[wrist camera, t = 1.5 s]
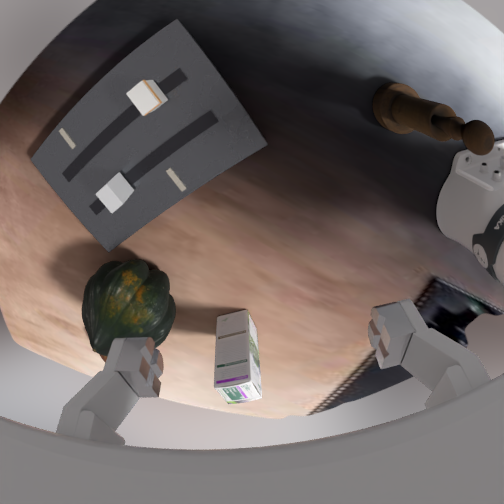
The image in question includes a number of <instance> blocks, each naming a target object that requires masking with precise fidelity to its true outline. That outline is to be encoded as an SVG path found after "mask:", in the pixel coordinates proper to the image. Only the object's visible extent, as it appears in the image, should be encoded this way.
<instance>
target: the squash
mask: <svg viewBox="0 0 504 504" xmlns="http://www.w3.org/2000/svg"><path fill="white" fill-rule="evenodd" d="M169 291H170V283H169V278H168V276H167V274H166V273H165V272H163V271H160V270H150V271H149V268H148V266H147V264H146V263H145V262H144V261H143V260H137V259H135V260H130V261H127V262H124V263H122V262H119V261H112V262H109V263H106V264H104V265H103V266H101V267H100V269H99V270H98V271H97V272H96V274H94V275H93V276H92V277H91V278H90V279H89V281H88V282H87V285H86V287H85V291H84V299H83V304H82V319H83V322H84V325H85V328H86V331H87V333H88V336H89V340H90V344H91V347H92V348H93V351H94V352H97V353H99V354H100V355H103V356H107V357H108V354H109V351H110V348H111V345H112V342H113V340H114V339H115V338H139V337H151V338H152V339H153V341H154V342H155V345H154V348H156V347H158V346H159V345H160V344H161V343H162V342H163V341H164V340H165V339H166V337H167V336H168V334H169V332H170V329H171V327H172V324H173V321H174V318H175V313H176V307H175V302H174V299H173V297H172V296H171V295H170V294H169Z"/></svg>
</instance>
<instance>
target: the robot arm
mask: <svg viewBox="0 0 504 504" xmlns="http://www.w3.org/2000/svg"><path fill="white" fill-rule="evenodd" d="M466 157H467V159H466ZM436 216H437V222H438V226H439V228H440V230H441V232H442V233H443V234H444V235H445V236H446V237H448V238H450V239H453V240H455V241H457V242H458V243H460V244H462V245H463V246H465V247H466V248H467V249H468V250H470V251H471V252H472V253H473V254H474V255H475V257H476V258H477V260H478V261H479V262H480V263H481V265H482V266H483V267H484V268H485V269H486V270H487V271H488V272H489V274H490V275H491V276H492V277H493V278H494V279H495V280H496V281H497V282H501V283H502V284H503V286H504V140H500V141H496V142H494V147H493V149H492V150H491V152H490V153H488V154H486V155H483V156H480V155H476V154H473V153H472V152H471V151H469V150H468V149H467V150H464V151H460V152H458V153H457V154H456V155H455V157H454V160H453V164H452V169H451V172H450V174H449V176H448V178H447V180H446V181H445V183H444V185H443V187H442V189H441V192H440V195H439V198H438V202H437V210H436ZM371 317H372V320H371V321H370V322H369V326H368V336H369V340H370V343H371V346H372V347H374V348H375V349H377V351H376V355H375V356H376V358H377V361H378V363H379V366H380V368H381V369H384V368H388V367H392V366H396V365H400V364H401V366H402V367H404V368H405V369H406V370H407V371H408V372H410V373H411V374H412V375H413V376H414V377H416V378H417V379H418V380H419V381H420V382H422V383H423V384H424V385H425V386H426V387H428V388H429V389H430V390H431V391H432V394H431V395H430V396H429V398H428V400H427V401H426V403H425V406H426V409H425V410H423V411H420V412H417V413H415V414H411V415H409V416H405V417H402V418H400V419H396V420H393V421H390V422H386V423H383V424H380V425H376V426H372V427H369V428H365V429H361V430H357V431H353V432H349V433H344V434H340V435H335V436H330V437H325V438H320V439H314V440H309V441H303V442H297V443H289V444H281V445H273V446H264V447H252V448H239V449H214V450H213V449H212V450H186V449H160V448H146V447H136V446H127V445H125V440H124V438H123V437H122V436H120V435H119V434H118V433H117V432H115V431H116V429H117V428H118V426H119V425H120V424H121V423H122V421H123V420H124V419H125V417H126V416H127V415H128V413H129V412H130V411H131V409H132V408H133V406H134V405H135V404H136V402H137V401H138V400H139V397H159V392H160V386H161V382H160V381H159V379H158V378H159V377H160V376H161V375H162V374H163V367H164V366H163V358H162V355H161V353H160V351H159V350H157V349H156V348H154V345H155V342H154V341H153V339H152V338H151V337H139V338H115V339H114V340H113V342H112V345H111V348H110V351H109V354H108V357H107V360H106V363H105V366H104V369H103V371H100V372H99V373H97V374H96V375H95V376H94V377H93V378H92V379H91V380H90V381H89V382H88V383H87V384H86V385H85V386H84V387H83V388H82V389H81V390H80V391H79V392H78V393H77V394H76V395H75V396H74V397H73V398H72V399H71V400H70V401H69V402H68V403H67V404H66V405H65V406H64V407H63V410H62V414H61V417H60V420H59V424H58V427H57V431H56V433H54V432H50V431H46V430H43V429H39V428H36V427H32V426H29V425H26V424H22V423H19V422H16V421H13V420H10V419H7V418H5V417H1V416H0V504H504V374H502V375H500V376H498V377H496V378H495V379H492V380H491V379H490V377H489V375H488V373H487V371H486V369H485V368H484V366H483V364H482V362H481V361H480V359H479V357H478V355H477V354H475V353H473V352H471V351H470V350H468V349H467V348H465V347H463V346H462V345H460V344H458V343H456V342H455V341H453V340H451V339H450V338H448V337H446V336H444V335H443V334H441V333H439V332H438V331H436V330H434V329H432V328H430V329H428V327H427V325H426V324H425V322H424V320H423V319H422V317H421V315H420V314H419V312H418V310H417V309H416V307H415V305H414V304H413V302H412V301H411V300H410V299H406V300H401V301H397V302H392V303H388V304H384V305H379V306H375V307H373V308H372V309H371Z"/></svg>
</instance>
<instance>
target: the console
mask: <svg viewBox="0 0 504 504" xmlns="http://www.w3.org/2000/svg"><path fill="white" fill-rule="evenodd" d="M143 80H154V82H155V83H156V84H157V86H158V87H159V88H160V90H161V91H162V92H163V93H164V95H165V96H166V97H167V99H168V101H166V102H165V103H164V104H162V105H161V106H160V107H159V108H157V109H156V110H155V111H153V112H151V113H148V114H147V115H145V116H143V115H142V114H141V113H140V111H139V110H138V109H137V107H136V106H135V105H134V104H133V102H132V101H131V100H130V98H129V97H128V96H127V94H126V93H127V92H129V91H130V90H131V89H132V88H133V87H134V86H136V85H137V84H138V83H139V82H141V81H143ZM267 145H268V144H267V141H266V139H265V137H264V136H263V134H262V133H261V131H260V130H259V128H258V127H257V125H256V124H255V122H254V121H253V119H252V118H251V116H250V115H249V113H248V112H247V110H246V109H245V107H244V106H243V104H242V103H241V102H240V100H239V99H238V97H237V96H236V94H235V93H234V92H233V90H232V89H231V87H230V86H229V84H228V83H227V82H226V80H225V79H224V77H223V76H222V75H221V73H220V72H219V71H218V69H217V68H216V66H215V65H214V64H213V62H212V61H211V60H210V58H209V57H208V56H207V54H206V53H205V52H204V50H203V49H202V48H201V46H200V45H199V44H198V43H197V41H196V40H195V39H194V37H193V36H192V35H191V34H190V32H189V31H188V30H187V28H186V27H185V26H184V25H183V23H181V22H180V21H179V20H178V19H176V20H174V21H173V22H171V23H170V24H169V25H167V26H166V27H164V28H163V29H161V30H160V31H159V32H157V33H156V34H155V35H153V36H152V37H150V38H149V39H148V40H147V41H145V42H144V43H143V44H141V45H140V46H139V47H138V48H136V49H135V50H134V51H133V52H131V53H130V54H129V55H128V56H127V57H125V58H124V59H123V60H122V61H121V62H120V63H118V64H117V65H116V66H115V67H114V68H113V69H112V70H111V71H109V72H108V73H107V74H106V75H105V76H104V77H103V78H102V79H101V80H100V81H99V82H98V83H97V84H96V85H95V86H94V87H93V88H92V89H91V90H90V91H89V92H88V93H87V94H86V95H85V96H84V97H83V98H82V99H81V100H80V101H79V102H78V103H77V104H76V105H75V106H74V107H73V108H72V109H71V110H70V112H69V113H68V114H67V115H66V116H65V117H64V118H63V119H62V121H61V122H60V123H59V124H58V125H57V126H56V128H55V129H54V130H53V131H52V132H51V134H50V135H49V136H48V137H47V139H46V140H45V141H44V142H43V144H42V145H41V146H40V148H39V149H38V150H37V151H36V153H35V154H34V155H33V157H32V158H31V161H32V162H33V164H34V165H35V166H36V168H37V169H38V170H39V171H40V173H41V174H42V175H43V177H44V178H45V179H46V180H47V182H48V183H49V184H50V186H51V187H52V188H53V189H54V191H55V192H56V193H57V194H58V195H59V197H60V198H61V199H62V200H63V202H64V203H65V204H66V205H67V206H68V208H69V209H70V210H71V211H72V212H73V213H74V215H75V216H76V217H77V218H78V219H79V220H80V221H81V223H82V224H83V225H84V226H85V227H86V228H87V229H88V231H89V232H90V233H91V234H92V235H93V236H94V237H95V238H96V239H97V240H98V242H99V243H100V244H101V245H102V246H103V247H104V248H105V249H106V250H107V251H108V252H110V251H111V250H113V249H114V248H115V247H116V246H118V245H119V244H120V243H122V242H123V241H124V240H126V239H127V238H128V237H130V236H131V235H132V234H134V233H135V232H136V231H138V230H139V229H140V228H142V227H143V226H144V225H146V224H147V223H149V222H150V221H151V220H153V219H154V218H156V217H157V216H158V215H160V214H161V213H163V212H164V211H165V210H167V209H168V208H170V207H171V206H173V205H174V204H176V203H177V202H178V201H180V200H181V199H183V198H184V197H186V196H187V195H189V194H190V193H192V192H193V191H195V190H196V189H198V188H199V187H201V186H202V185H204V184H205V183H207V182H208V181H210V180H211V179H213V178H215V177H216V176H218V175H219V174H221V173H222V172H224V171H226V170H227V169H229V168H230V167H232V166H233V165H235V164H237V163H238V162H240V161H242V160H243V159H245V158H247V157H248V156H250V155H251V154H253V153H255V152H256V151H258V150H260V149H262V148H263V147H265V146H267ZM119 172H120V173H121V175H122V176H123V177H124V178H125V179H126V181H127V182H128V183H129V184H130V186H131V187H132V188H133V189H134V191H133V193H132V194H131V195H130V196H129V198H128V199H127V200H126V201H125V203H124V204H123V205H122V206H120V207H119V208H118V209H117V210H116V211H114V212H113V213H111V212H110V211H109V210H108V209H107V207H106V206H105V205H104V204H103V203H102V202H101V200H100V199H99V198H98V197H97V196H96V193H97V192H98V191H99V190H100V189H101V188H102V187H103V186H104V185H105V184H106V183H107V182H109V181H110V180H111V179H112V178H113V177H114V176H115V175H116V174H118V173H119Z"/></svg>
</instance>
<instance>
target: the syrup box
mask: <svg viewBox="0 0 504 504" xmlns="http://www.w3.org/2000/svg"><path fill="white" fill-rule="evenodd" d="M214 388H215V389H216V390H217V391H218V393H219V394H220V395H221V396H222V397H223V398H224V399H225V401H226V402H227V403H228V404H235V403H244V402H249V401H253V400H257V399H262V390H261V375H260V363H259V349H258V336H257V328H256V326H255V324H254V322H253V320H252V318H251V316H250V314H249V312H248V310H243V311H238V312H234V313H230V314H226V315H222V316H218V317H217V328H216V347H215V372H214Z"/></svg>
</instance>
